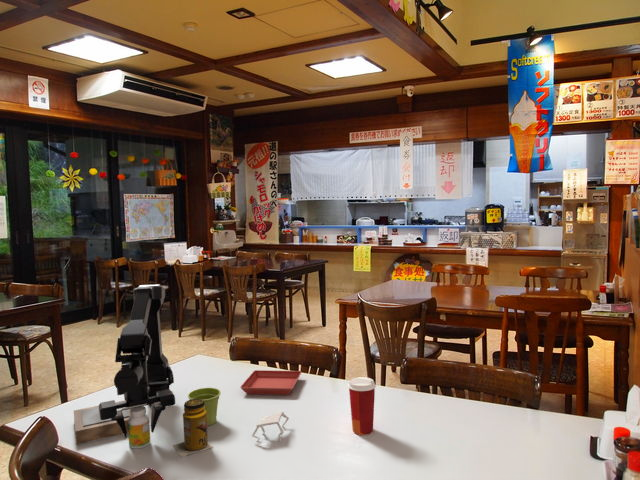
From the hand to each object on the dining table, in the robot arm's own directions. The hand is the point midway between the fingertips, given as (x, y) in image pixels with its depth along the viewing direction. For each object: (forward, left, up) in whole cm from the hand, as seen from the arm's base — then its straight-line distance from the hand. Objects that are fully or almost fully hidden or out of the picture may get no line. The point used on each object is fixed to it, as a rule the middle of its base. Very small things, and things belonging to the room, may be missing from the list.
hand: (139, 434), depth 132 cm
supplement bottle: (0, 0, -3) cm, 3 cm away
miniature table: (-33, +14, -3) cm, 36 cm away
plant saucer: (-47, -20, -3) cm, 51 cm away
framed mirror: (+7, -17, -2) cm, 19 cm away
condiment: (-12, +9, -3) cm, 15 cm away
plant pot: (-19, -4, -3) cm, 20 cm away
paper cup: (-55, +25, -3) cm, 61 cm away
